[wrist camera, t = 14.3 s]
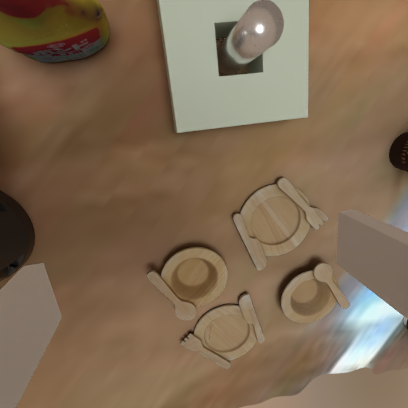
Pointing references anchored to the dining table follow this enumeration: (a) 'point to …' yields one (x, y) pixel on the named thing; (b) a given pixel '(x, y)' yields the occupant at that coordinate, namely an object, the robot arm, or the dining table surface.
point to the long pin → (250, 36)
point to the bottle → (53, 28)
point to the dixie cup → (405, 322)
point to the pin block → (234, 84)
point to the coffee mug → (400, 152)
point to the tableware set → (258, 248)
